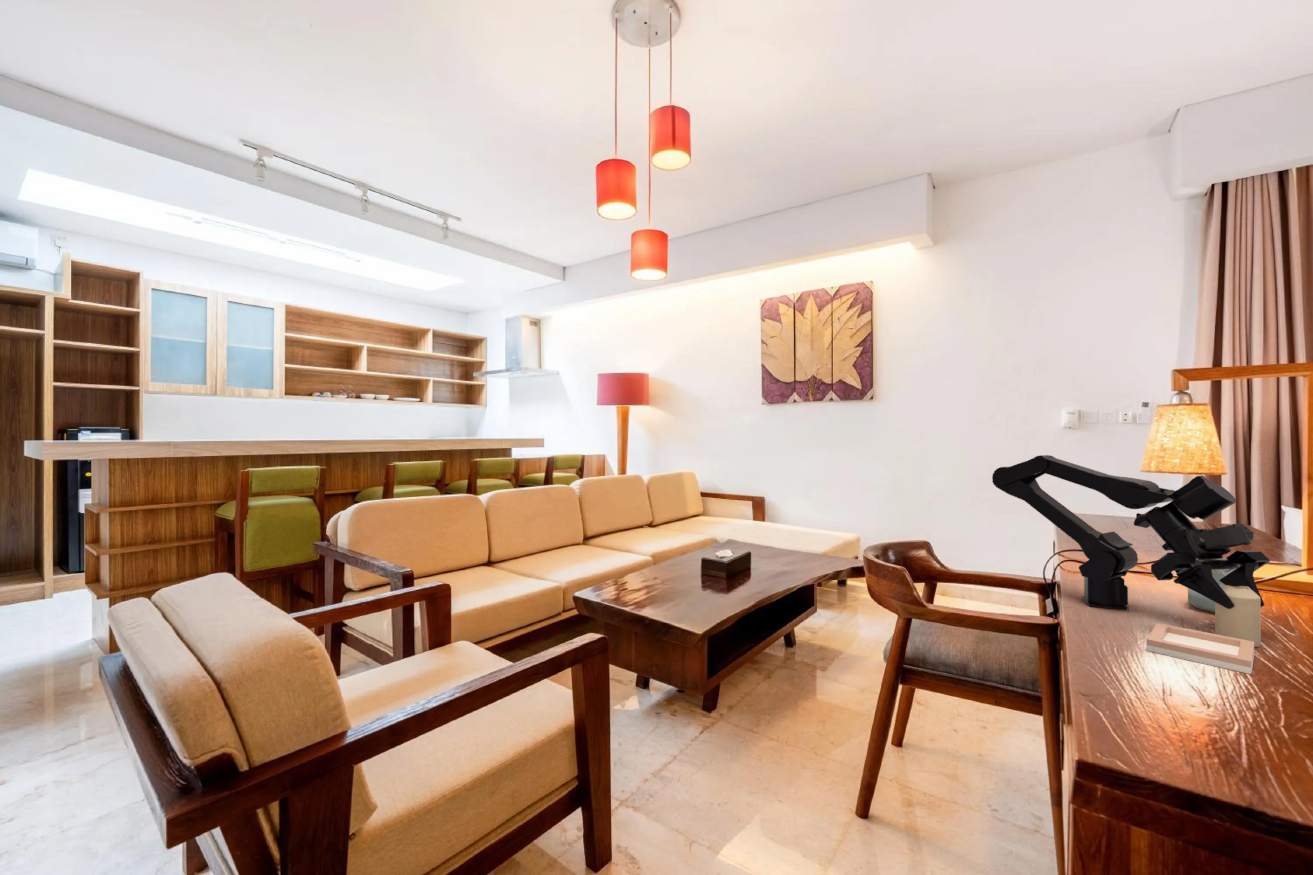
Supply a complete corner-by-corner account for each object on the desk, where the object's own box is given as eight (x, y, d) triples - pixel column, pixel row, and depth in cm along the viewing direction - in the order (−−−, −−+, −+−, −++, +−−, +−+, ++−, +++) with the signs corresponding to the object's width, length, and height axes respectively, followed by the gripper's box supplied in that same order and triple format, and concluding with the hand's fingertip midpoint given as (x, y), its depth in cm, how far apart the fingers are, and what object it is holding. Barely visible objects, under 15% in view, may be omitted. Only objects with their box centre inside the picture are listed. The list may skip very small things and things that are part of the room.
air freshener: (1188, 600, 119) (1188, 555, 119) (1243, 608, 113) (1243, 561, 113) (1187, 611, 111) (1187, 563, 111) (1246, 621, 105) (1246, 570, 105)
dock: (1251, 674, 82) (1251, 661, 82) (1146, 650, 91) (1146, 638, 91) (1254, 653, 90) (1254, 641, 90) (1157, 633, 99) (1157, 622, 99)
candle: (1246, 637, 97) (1246, 583, 97) (1269, 649, 91) (1269, 591, 91) (1207, 634, 98) (1207, 580, 98) (1228, 645, 93) (1227, 588, 93)
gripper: (1166, 509, 98) (1236, 585, 87) (1256, 507, 100) (1337, 582, 89) (1125, 543, 106) (1185, 617, 95) (1209, 541, 107) (1278, 613, 96)
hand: (1246, 607), depth 93 cm, fingers closed on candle, 5 cm apart
